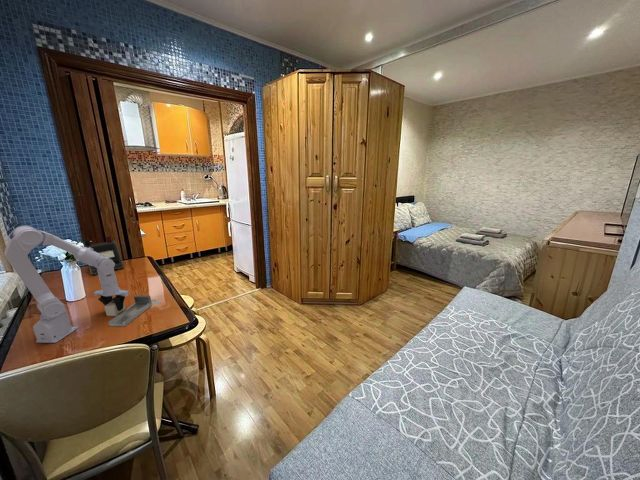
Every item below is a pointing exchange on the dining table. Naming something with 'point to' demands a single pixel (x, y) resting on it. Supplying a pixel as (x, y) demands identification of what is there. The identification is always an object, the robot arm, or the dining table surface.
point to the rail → (132, 311)
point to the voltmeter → (106, 253)
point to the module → (113, 309)
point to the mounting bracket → (155, 302)
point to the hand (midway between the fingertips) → (115, 309)
